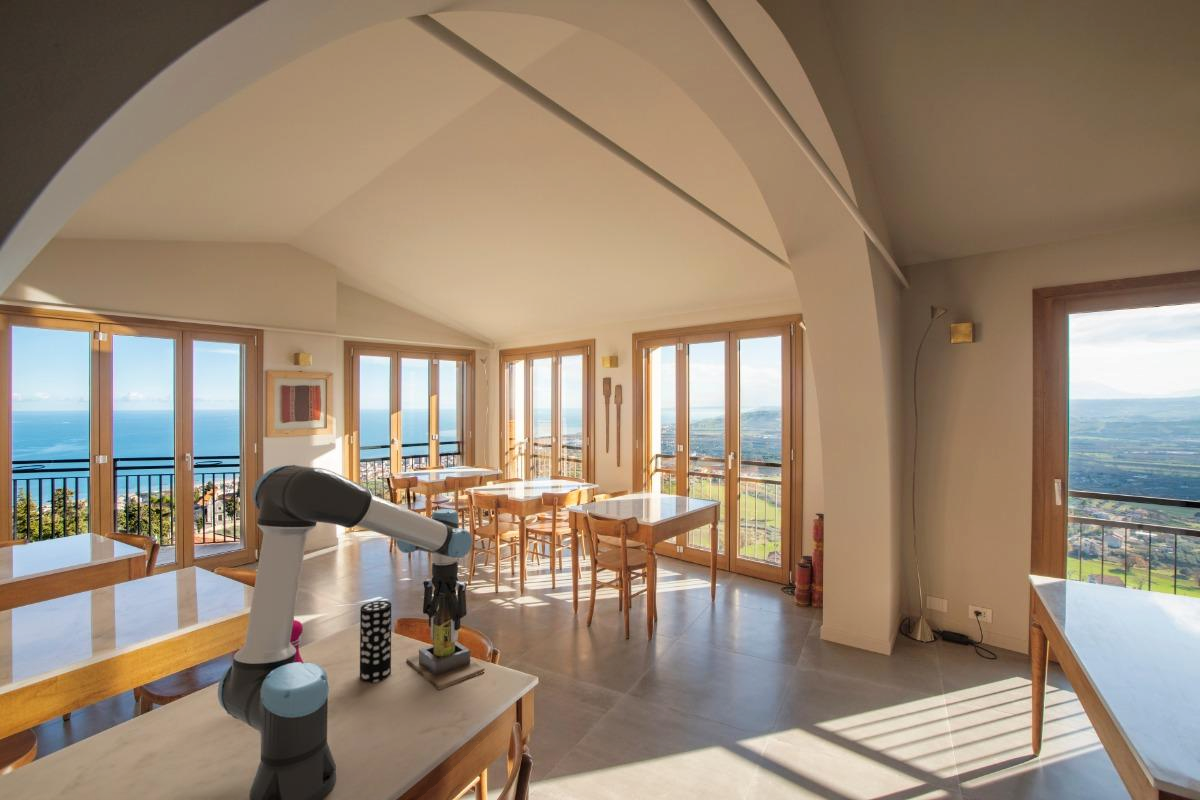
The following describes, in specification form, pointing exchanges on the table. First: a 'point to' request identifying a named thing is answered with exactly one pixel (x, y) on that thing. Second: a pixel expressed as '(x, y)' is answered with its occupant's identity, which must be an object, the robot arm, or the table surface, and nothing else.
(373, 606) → the spotted tube
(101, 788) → the table surface
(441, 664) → the bottle socket
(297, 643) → the pepper mill
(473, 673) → the caddy board
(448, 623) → the sauce bottle
